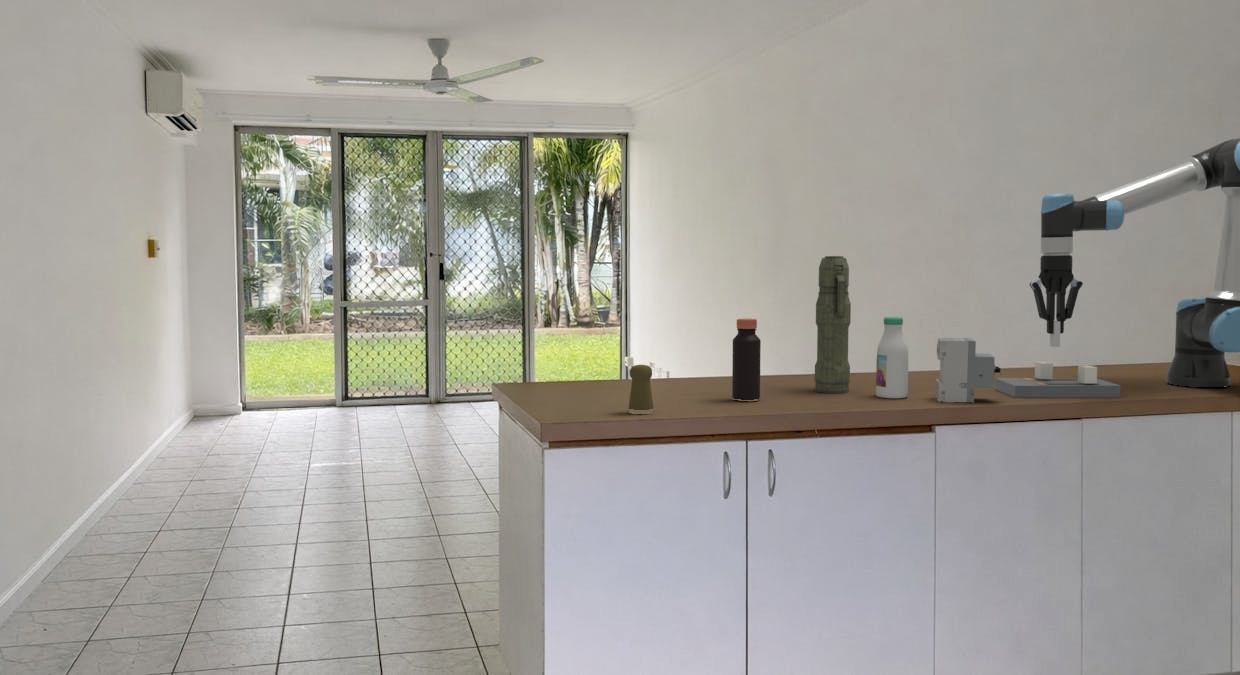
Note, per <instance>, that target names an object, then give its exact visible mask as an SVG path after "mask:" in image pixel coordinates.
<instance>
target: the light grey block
mask: <svg viewBox="0 0 1240 675" xmlns="http://www.w3.org/2000/svg"><path fill="white" fill-rule="evenodd" d="M1053 376H1054V363H1053V362H1048V361H1035V362H1034V378H1039V379H1053V378H1054V377H1053Z"/></svg>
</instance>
